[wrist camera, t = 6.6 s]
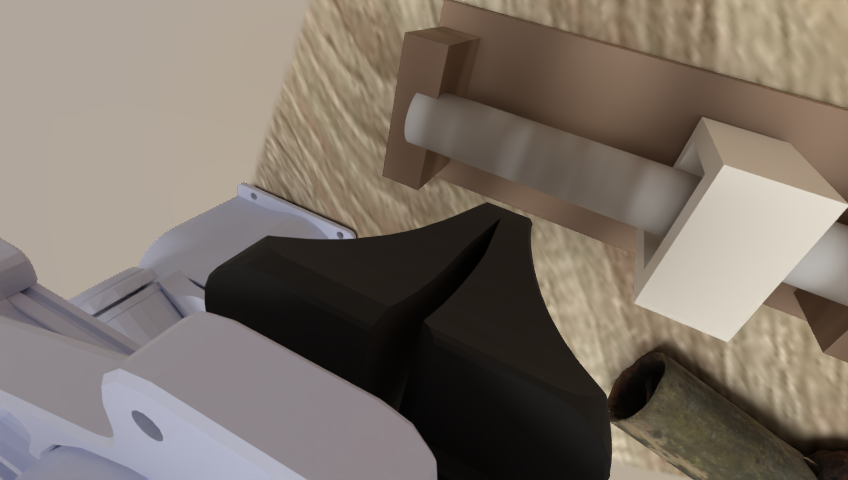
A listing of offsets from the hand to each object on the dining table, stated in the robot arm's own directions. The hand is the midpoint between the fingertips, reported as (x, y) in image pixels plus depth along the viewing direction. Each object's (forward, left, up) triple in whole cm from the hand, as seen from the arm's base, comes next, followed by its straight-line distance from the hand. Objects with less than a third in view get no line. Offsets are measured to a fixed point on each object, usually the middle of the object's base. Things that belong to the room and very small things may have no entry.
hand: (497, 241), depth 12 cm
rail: (+3, 0, -10) cm, 11 cm away
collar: (+6, 0, -9) cm, 11 cm away
